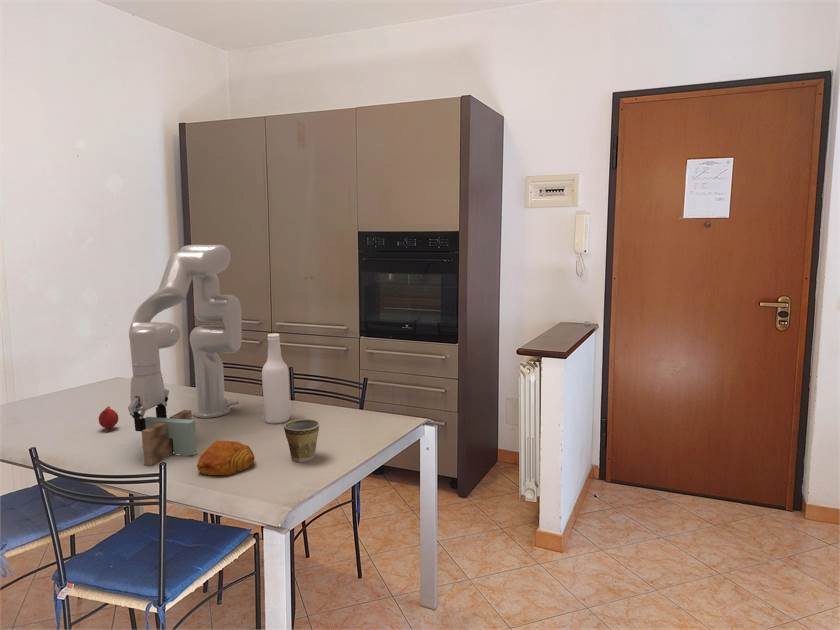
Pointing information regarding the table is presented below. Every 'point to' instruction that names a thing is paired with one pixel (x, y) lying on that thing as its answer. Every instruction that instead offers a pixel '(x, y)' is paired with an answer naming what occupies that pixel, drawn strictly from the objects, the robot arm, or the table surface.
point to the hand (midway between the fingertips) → (151, 425)
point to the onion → (108, 418)
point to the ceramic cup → (302, 438)
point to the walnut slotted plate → (159, 440)
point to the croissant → (225, 458)
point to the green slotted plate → (178, 433)
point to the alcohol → (275, 384)
